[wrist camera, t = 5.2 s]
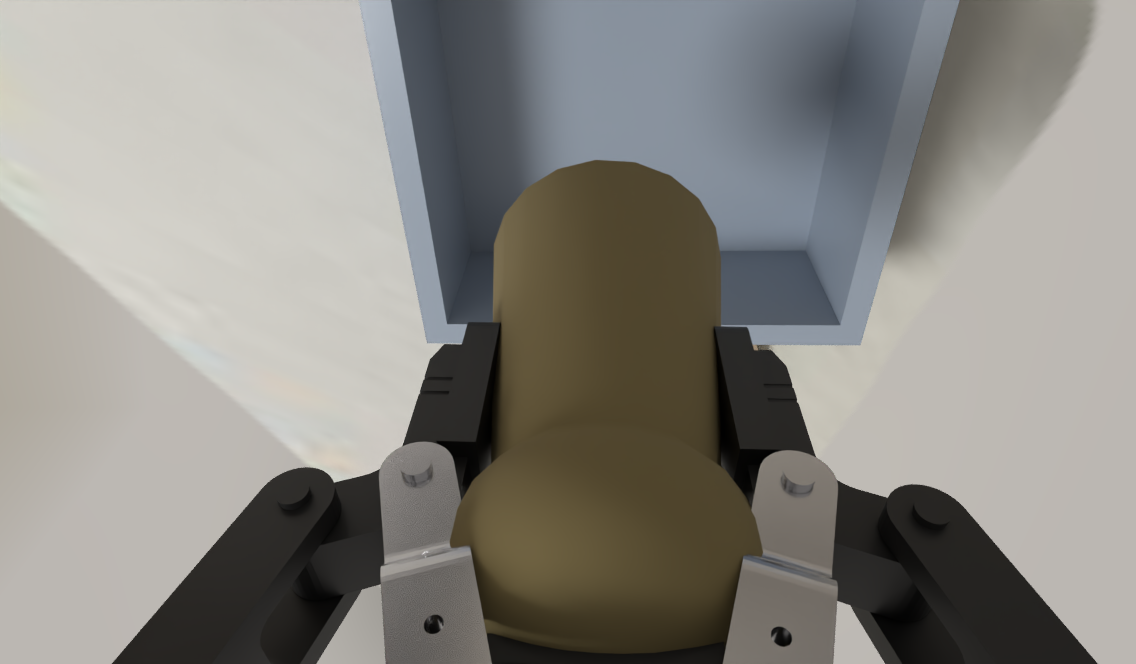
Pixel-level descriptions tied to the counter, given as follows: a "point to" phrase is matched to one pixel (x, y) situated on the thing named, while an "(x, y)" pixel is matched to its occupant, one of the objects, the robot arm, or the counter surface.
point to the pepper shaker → (607, 422)
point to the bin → (664, 135)
